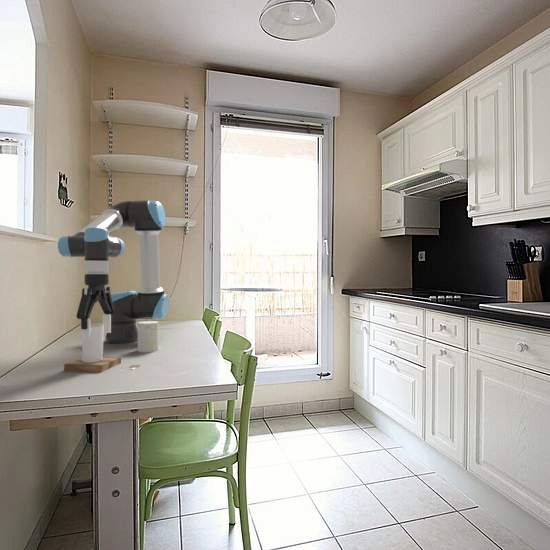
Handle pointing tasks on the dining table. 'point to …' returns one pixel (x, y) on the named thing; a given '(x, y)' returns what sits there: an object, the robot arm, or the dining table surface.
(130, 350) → the dining table surface
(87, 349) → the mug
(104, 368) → the base brick
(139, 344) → the cup
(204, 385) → the dining table surface
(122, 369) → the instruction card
